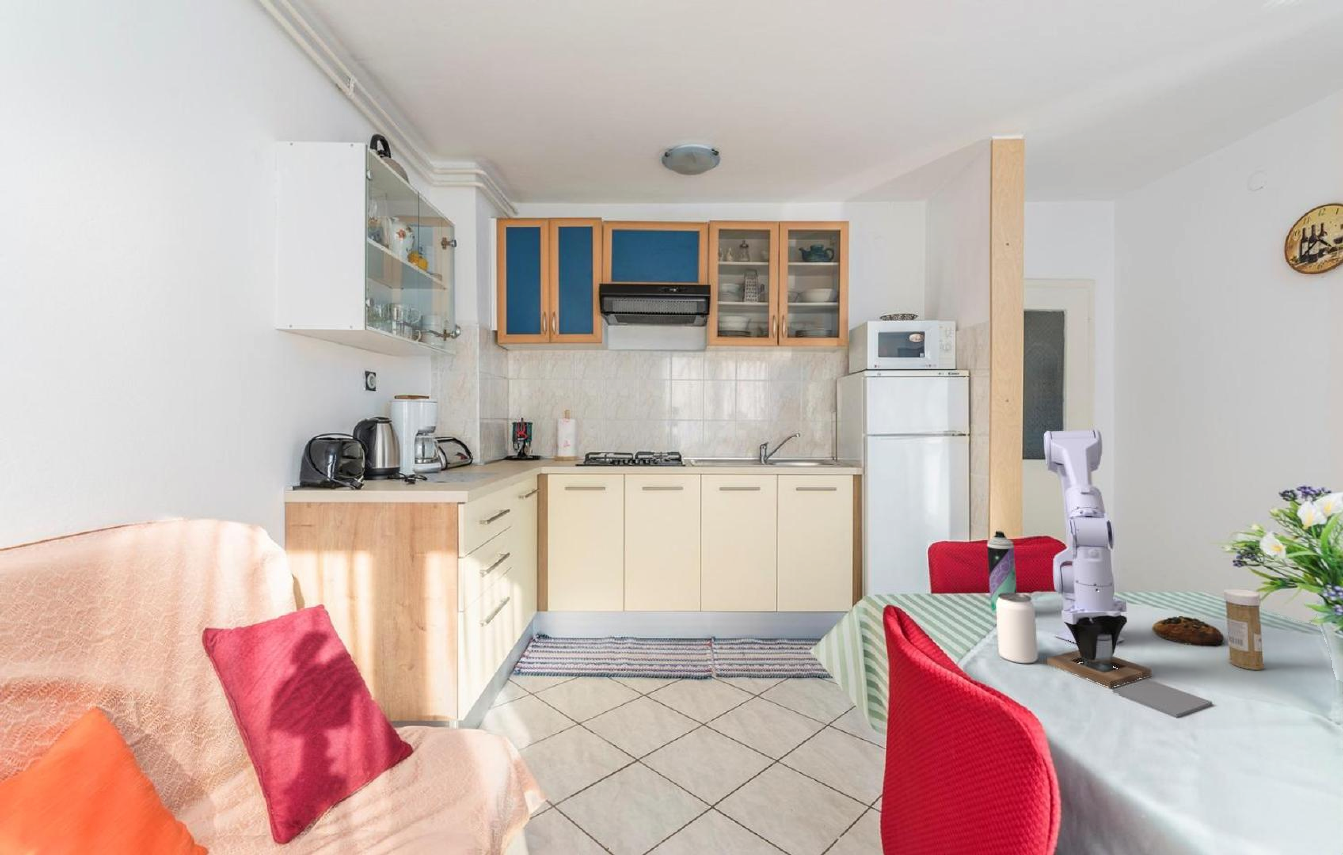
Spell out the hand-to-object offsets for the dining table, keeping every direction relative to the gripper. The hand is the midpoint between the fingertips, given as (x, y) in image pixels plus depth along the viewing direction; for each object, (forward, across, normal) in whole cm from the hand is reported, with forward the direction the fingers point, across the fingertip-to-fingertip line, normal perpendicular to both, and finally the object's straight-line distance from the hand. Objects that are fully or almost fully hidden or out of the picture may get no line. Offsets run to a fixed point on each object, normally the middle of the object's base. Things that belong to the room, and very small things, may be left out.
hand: (1097, 655), depth 101 cm
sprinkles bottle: (+3, +24, -10) cm, 26 cm away
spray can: (+3, +11, +28) cm, 30 cm away
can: (+3, -7, +10) cm, 13 cm away
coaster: (+3, -2, -11) cm, 11 cm away
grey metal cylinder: (+3, 0, 0) cm, 3 cm away
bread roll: (+3, +31, +2) cm, 31 cm away
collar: (+3, 0, 0) cm, 3 cm away
